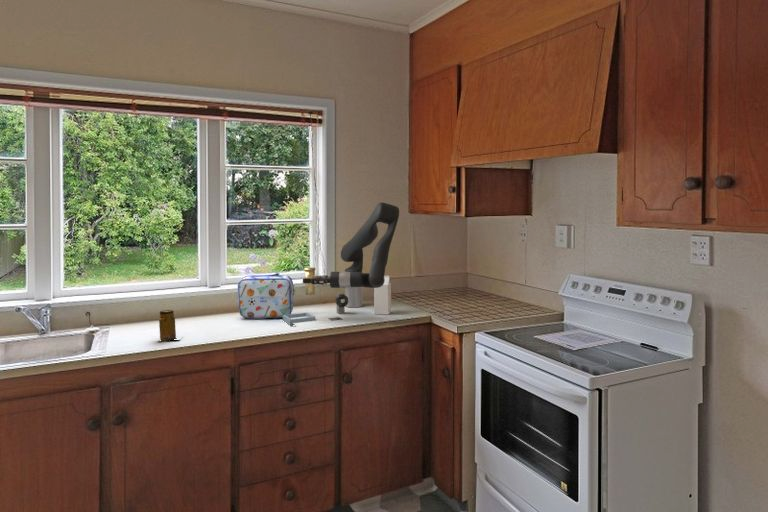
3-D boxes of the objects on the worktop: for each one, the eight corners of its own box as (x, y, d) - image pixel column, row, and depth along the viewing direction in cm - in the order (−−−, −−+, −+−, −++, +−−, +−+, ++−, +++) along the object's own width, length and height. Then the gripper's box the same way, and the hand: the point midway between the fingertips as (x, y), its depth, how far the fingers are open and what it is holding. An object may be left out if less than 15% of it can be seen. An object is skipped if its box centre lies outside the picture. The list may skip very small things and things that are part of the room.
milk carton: (388, 315, 258) (388, 276, 256) (374, 314, 259) (373, 276, 257) (391, 312, 265) (390, 274, 263) (377, 311, 266) (376, 274, 264)
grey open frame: (282, 321, 247) (282, 315, 246) (307, 318, 252) (307, 312, 252) (290, 326, 236) (289, 319, 236) (315, 323, 241) (315, 316, 241)
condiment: (161, 338, 218) (159, 309, 216) (182, 337, 219) (181, 308, 218) (157, 342, 210) (155, 313, 209) (179, 341, 212) (177, 312, 211)
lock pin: (303, 293, 243) (302, 268, 242) (313, 292, 246) (313, 267, 245) (306, 295, 239) (306, 269, 238) (317, 294, 241) (317, 268, 240)
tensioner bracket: (317, 317, 253) (317, 294, 252) (344, 314, 259) (344, 292, 258) (331, 325, 237) (330, 300, 236) (359, 321, 243) (359, 297, 242)
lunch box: (297, 314, 262) (296, 270, 260) (295, 319, 251) (294, 273, 249) (241, 316, 260) (239, 272, 258) (237, 320, 250) (235, 274, 248)
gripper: (342, 269, 248) (306, 270, 249) (338, 273, 233) (300, 274, 234) (343, 285, 248) (307, 285, 249) (339, 290, 234) (301, 290, 235)
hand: (304, 280), depth 242 cm, fingers closed on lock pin, 4 cm apart
